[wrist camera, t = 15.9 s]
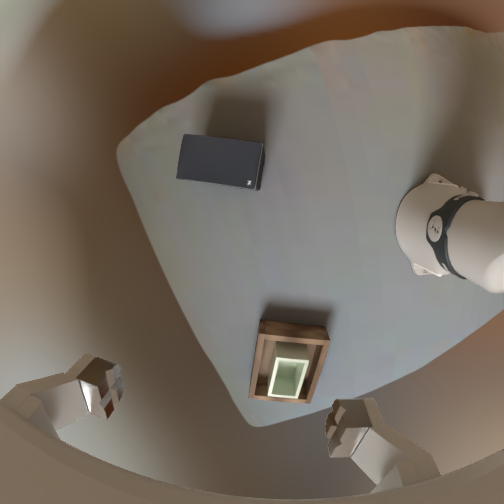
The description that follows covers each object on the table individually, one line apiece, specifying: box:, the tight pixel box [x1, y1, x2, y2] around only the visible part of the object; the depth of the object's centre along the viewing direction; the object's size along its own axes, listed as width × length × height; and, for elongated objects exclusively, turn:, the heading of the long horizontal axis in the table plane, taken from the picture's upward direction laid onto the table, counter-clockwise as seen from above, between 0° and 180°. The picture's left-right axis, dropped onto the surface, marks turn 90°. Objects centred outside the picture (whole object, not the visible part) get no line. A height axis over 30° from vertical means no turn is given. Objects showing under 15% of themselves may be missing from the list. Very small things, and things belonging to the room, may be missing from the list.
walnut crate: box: [248, 320, 330, 403], centre depth 48 cm, size 12×15×5 cm
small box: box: [176, 134, 265, 191], centre depth 38 cm, size 11×6×10 cm, turn 81°
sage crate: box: [267, 341, 309, 399], centre depth 46 cm, size 6×9×6 cm, turn 173°
